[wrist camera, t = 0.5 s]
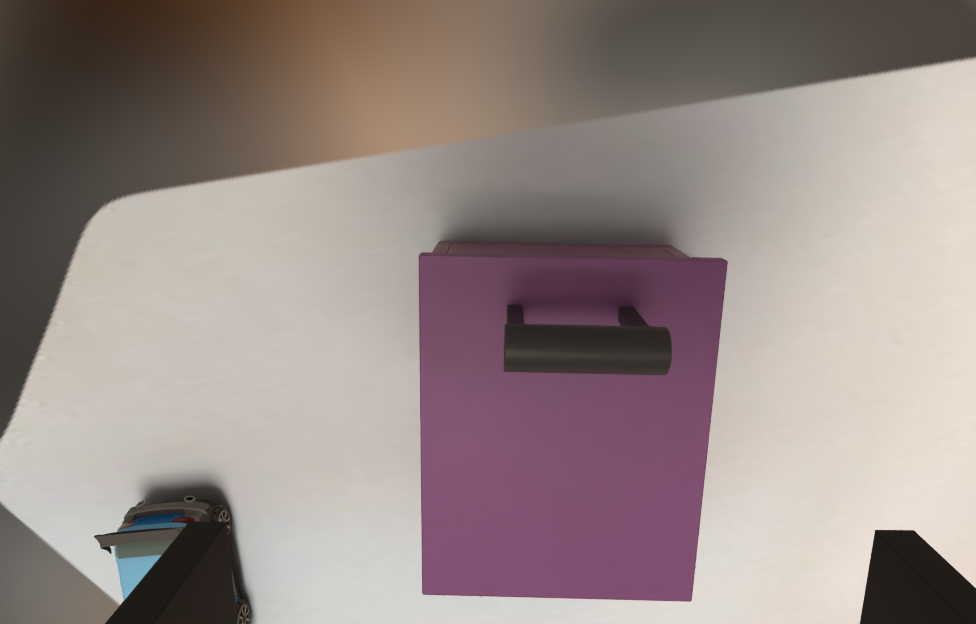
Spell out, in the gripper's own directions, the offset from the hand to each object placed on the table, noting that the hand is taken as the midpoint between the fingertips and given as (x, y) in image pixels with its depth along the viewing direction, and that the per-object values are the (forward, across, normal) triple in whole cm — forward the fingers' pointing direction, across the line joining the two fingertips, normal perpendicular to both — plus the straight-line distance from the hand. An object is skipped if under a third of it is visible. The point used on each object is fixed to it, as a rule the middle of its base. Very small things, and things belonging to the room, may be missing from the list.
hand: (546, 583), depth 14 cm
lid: (+18, +2, -5) cm, 19 cm away
